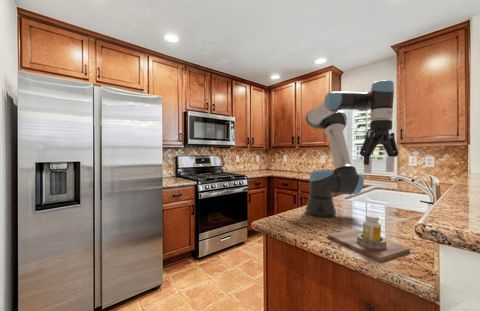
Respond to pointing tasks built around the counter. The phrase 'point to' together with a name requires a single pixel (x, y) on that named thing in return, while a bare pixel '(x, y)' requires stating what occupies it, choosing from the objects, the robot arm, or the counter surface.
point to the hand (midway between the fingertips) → (378, 172)
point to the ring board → (365, 250)
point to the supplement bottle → (371, 228)
